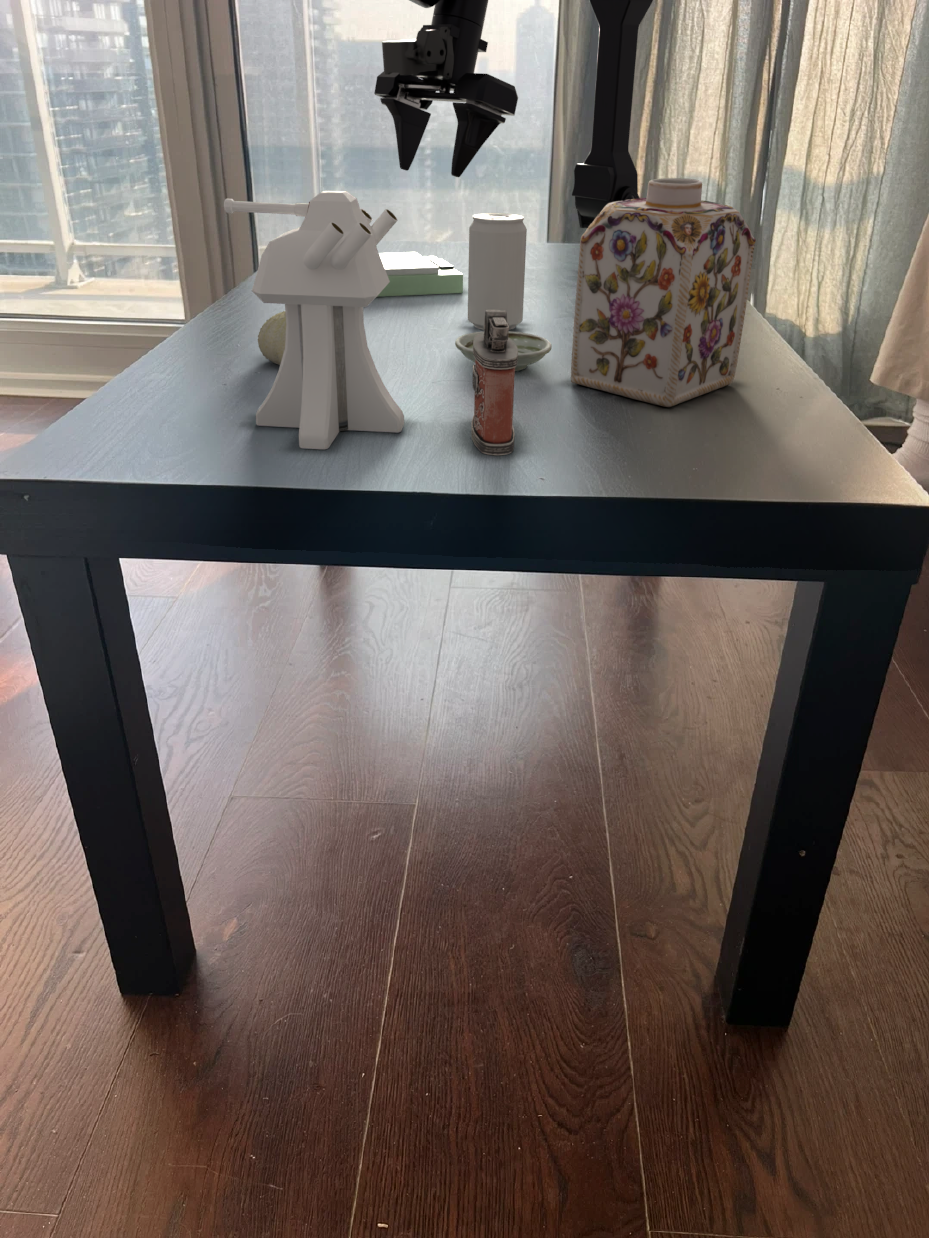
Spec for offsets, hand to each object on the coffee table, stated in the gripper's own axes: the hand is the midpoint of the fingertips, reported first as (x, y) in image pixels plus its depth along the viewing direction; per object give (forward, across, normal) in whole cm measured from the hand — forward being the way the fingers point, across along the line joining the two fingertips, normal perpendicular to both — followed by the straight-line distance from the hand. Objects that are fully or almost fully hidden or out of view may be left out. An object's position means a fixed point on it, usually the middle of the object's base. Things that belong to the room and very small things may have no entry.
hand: (429, 173), depth 114 cm
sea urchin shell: (+22, +11, -21) cm, 32 cm away
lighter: (+22, +40, -22) cm, 51 cm away
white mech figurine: (+25, +29, -31) cm, 49 cm away
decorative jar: (+16, +39, -1) cm, 42 cm away
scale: (+13, -14, +9) cm, 21 cm away
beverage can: (+15, +12, +4) cm, 20 cm away
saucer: (+18, +25, -7) cm, 32 cm away
